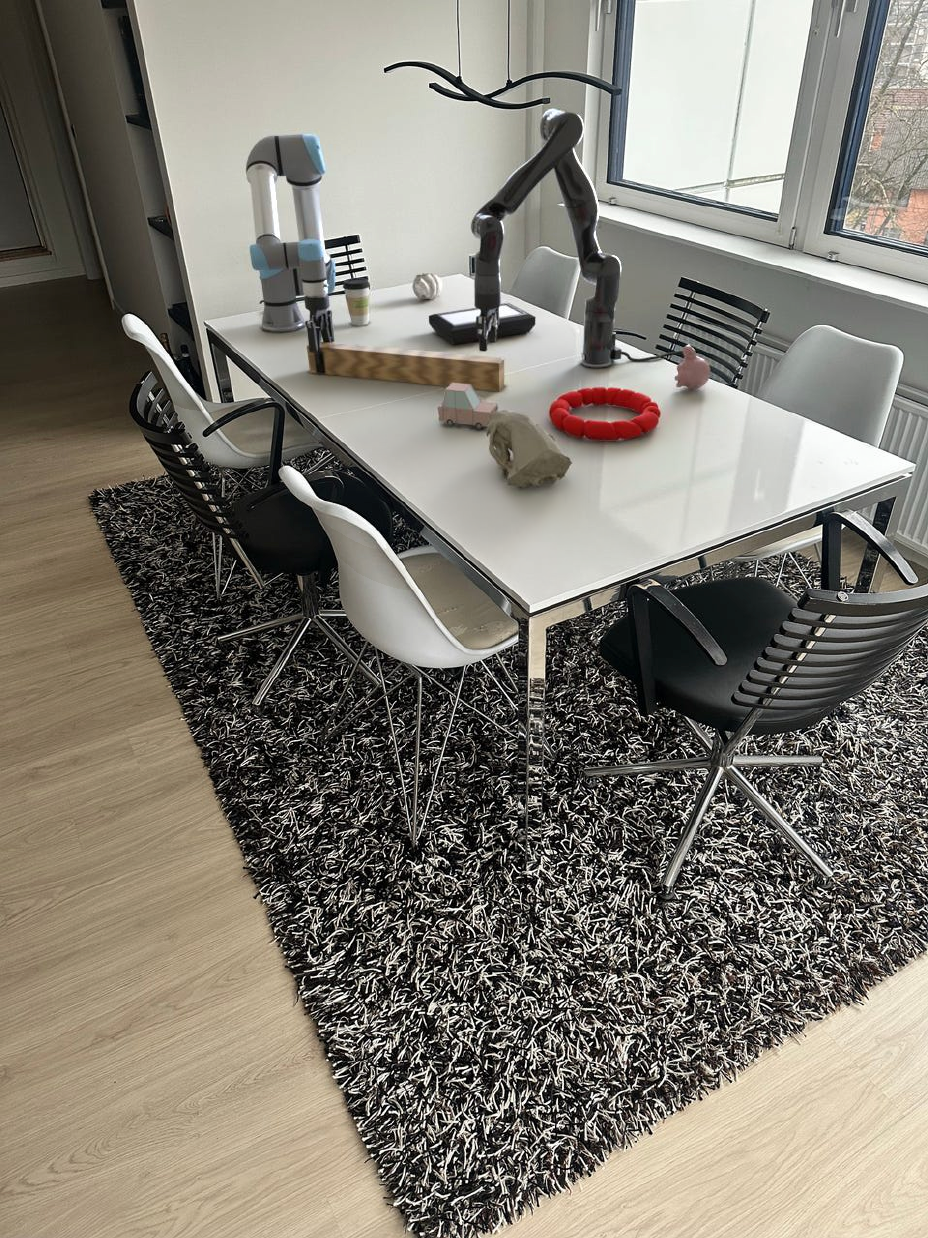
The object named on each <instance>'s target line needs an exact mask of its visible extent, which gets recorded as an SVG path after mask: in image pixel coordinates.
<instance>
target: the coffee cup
mask: <svg viewBox="0 0 928 1238" xmlns="http://www.w3.org/2000/svg"><path fill="white" fill-rule="evenodd" d="M370 287H371V283H370V282H369V279H367V278H365V277H351V278H347V279H345V280H344V281H343V285H342V288H343V290H344V297H345V301H346V305H347V310H348V314H349V318H350V323H351V325H353V326H357V327H359V326H365V325H368V324H369V317H370V316H369V313H370Z"/></svg>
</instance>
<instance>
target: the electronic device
mask: <svg viewBox="0 0 928 1238" xmlns="http://www.w3.org/2000/svg"><path fill="white" fill-rule="evenodd" d="M480 312H481V310H480V309H478V308H476V307H472V308H466V309H464V308H463V309H457V310H452V311H445V312H439V313H434V314H430V315H428V324H429V325H430V327H431V328H432V330H433V331H434V332H435V333H436V334H438V335H440V336H441V337H443V339H446V340H447V341H449V342H450V343H452V344H453V345H458V344H465V343H470V342H476V341H479V338H476V316H479V315H480ZM536 319H537V318H536V316H534V315H533V314H530V313H529V312H527V311H525V310H523V309H522V308H520V307H518V306H516V305H513V304H511V303H510V302H503V303H501V306H500V307H499V326H497V327H498V328H497V329H496V338H501V337H507V336H513V335H520V334H525V333H530V331H531V330H532V329H533V328H534V327H535V326H536ZM481 334H482V333H481ZM487 340H489V332H488V335H487Z"/></svg>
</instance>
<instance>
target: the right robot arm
mask: <svg viewBox="0 0 928 1238" xmlns="http://www.w3.org/2000/svg"><path fill="white" fill-rule="evenodd" d="M584 131H585V126H584V121H583V119H582V117H581V116H580V115H579V114H578V113H576V112H573V111H570V110H567V109H563V108H557V107H553V108H549V109H547V110H546V111H545V112H544V114H543V115H542V117H541V120H540V124H539V133H540V138H541V140H542V143H543V146H542V147H541V149H540V150H539V151H538V152H537V153H536V154H534V155H533V156H531V158H530V159H529V160H528V161H526V162H524V164H522V165H521V166H519V167H518V168H517V169H515V170H514V171H513V172H512V173H511V174H510V175H509V177H508V178H507V179H506V180H505V182H504V183H503V184H502V186H501V187H500V188H499V189H498V191H497V193H496V194H495V195H494V196H493V197H491V199H489V200H488V201H487V202H486V203H485V204H484V205H482V206H481V208H479V210H478V211H476V213H475V214H474V215H473V218H472V220H471V223H470V231H471V234H472V235H473V236H474V237H475V238H476V239H478V240H480V242H479V250H478V251H476V253H475V255H474V281H473V286H474V288H473V289H474V290H473V291H474V293H473V294H474V297H473V298H474V308H478V309H480V310H481V312H480V315H479V316H476V338H479V340H478V349H479V352H484V353H485V352H487V351H488V343H490V344H495V343H496V342H497V337H496V329H497V328H498V327H497V326H499V307H500V306H501V304H502V292H501V291H502V280H501V254H502V249H503V244H504V238H505V229H504V223H503V220H504V219H505V218H506V217H509V216H513V215H515V213H516V212H517V211H518V210H519V208H520V207H521V206H522V204H523V203H524V202H525V201H526V200H527V198H528V197H529V196H530V195H531V193H532V192H533V191H534V189H535V188H536V187H537V186H538V185H539V184H540V183H541V181H542V180H544V178H545V177H546V176H547V175H548V174H549V173H550V172H551V171H552V170H553V171H554V175H555V178H556V182H557V185H558V189H559V192H560V195H561V199H562V202H563V206H564V210H565V213H566V216H567V219H568V223H569V225H570V229H571V233H572V237H573V240H574V243H575V244H574V245H575V248H576V253H577V259H578V264H579V268H580V273H581V276H582V278H583V280H585V282H587V283H589V284H591V285H595V291H594V295H591V296H588V297H587V298H585V300H584V314H583V315H584V317H583V337H582V338H583V339H582V352H581V357H580V358H581V364H582V366H584V367H588V368H590V369H591V368H592V369H603V368H607V367H609V366H611V365H613V364H615V361H617V360H621V359H622V355H623V356H625V357H626V358H627V359H628V360H629V361H630V362H635V363H639V362H646V361H653V360H658V359H661V358H664V357H670V356H671V357H672V356H677V355H684V353H683V350H678V351H672V352H665V353H662V354H658V355H654V356H647V357H643V358H635V357H631V355H630V354H629V353H628V352H626V351H622V348H620V347H617V346H616V339H617V333H616V332H615V331H614V329H615V328H614V326H615V313H616V312H615V311H616V303H617V301H618V300H619V299H618V298H619V295H620V294H619V293H620V286H621V285H620V284H621V278H622V277H621V276H622V265H621V261H620V259H619V258H618V257H617V256H615V254H614V255H613V254H610V253H606V252H602V250H601V249H600V246H599V243H598V239H597V235H596V230H597V225H598V220H599V215H600V206H599V201H598V198H597V193H596V190H595V187H594V185H593V182H592V181H591V179H590V177H589V175H588V174H587V172H586V171H585V169H584V167H583V166H582V164H581V162H580V161H579V158H578V156H577V154H576V152H575V148H576V147H577V146H578V145H579V143H580V142H581V140H582V138H583V136H584ZM488 332H489V339H487V335H488ZM481 333H482V334H481Z"/></svg>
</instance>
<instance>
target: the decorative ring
mask: <svg viewBox="0 0 928 1238" xmlns="http://www.w3.org/2000/svg"><path fill="white" fill-rule="evenodd" d="M583 405H584V406H586V407H587V406H591V405H593V406H604V405H608V406H614V407H619V408H624V409H628V410H632V411H635V412H636V413H638V414H639V415H637V416H635V417H632V418H631V419H630V420H625V419H624V420H623V419H622V420H614V421H611V422H609V421H607V420H606V421H605V420H593V419H587V420H586V421H585V419H584V418H582V417H579V416H577V415H573V414H571V413H570V410H571V409H579V408H581V407H582V406H583ZM548 416H549V419H550V422H551V423H552V425H553V426H554V427H555V428H556V429H558V430H559V431H561V432H563V433H567V434H568V435H569V436H573V437H576V438H580V439H582V438H583V437H585V438H586V439H587V440H591V441H601V442H602V441H603V442H608V441H609V442H610V441H611V442H612V441H615V442H616V441H618V440H630V439H634V438H638V437H641V436H642V434H647V433H650V432H651V431H653V430H654V429H655V428H656V427H657V426H658V424H659V422H660V421H659V420H660V417H661V410H660V408H659V405H658V403H657V402H656V401H652V399H651V397H649V396H648V395H646V394H644V393H642V392H635V391H634V390H632V389H628V388H624V389H622V388H620V387H613V386H612V387H611V386H610V387H608V388H606V387H604V386H594V387H585V388H584V387H583V388H580V389H578V390H571V391H568V392H565V393H563V394H561V395H560V396H558V397H557V398H556V400H554V401H552V403H551V404H550V407H549V409H548Z"/></svg>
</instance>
